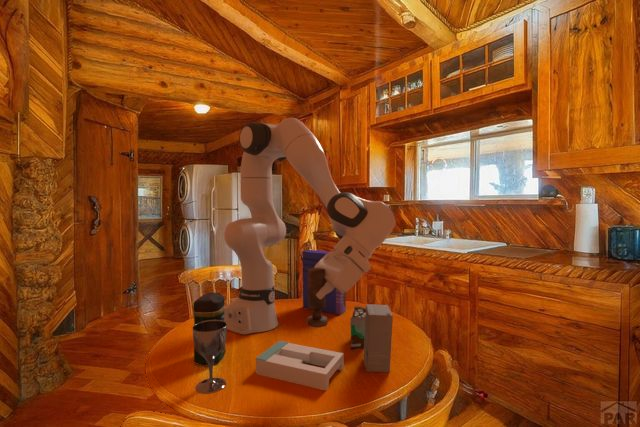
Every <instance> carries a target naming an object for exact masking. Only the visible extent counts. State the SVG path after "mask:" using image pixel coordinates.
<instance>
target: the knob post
mask: <svg viewBox="0 0 640 427" xmlns="http://www.w3.org/2000/svg"><path fill="white" fill-rule="evenodd" d="M324 276H325V269H322V268H312V269H308V307H309V308H310V309H312V310H311V314H312V315H308V316H307V318H306V325H307V326H309V327H310V328H323V327H325V326H327V325H328V317H327V316H326V315H323V312H322V309H324V308H325V296H324V297H323V298H322V299H319V298H318V297H317V296H316V295H315V293H316V292H317V290H318V289H321V288H322V287H323V286H324V285H325V278H324ZM310 309H309V310H310Z"/></svg>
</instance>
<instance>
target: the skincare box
mask: <svg viewBox="0 0 640 427" xmlns="http://www.w3.org/2000/svg"><path fill="white" fill-rule="evenodd" d="M365 308H366V318H365V337H364V348H363V354H362V355H363V356H362V357H363V363H364V368H365V371H366V372H367V373H368V372H369V373H371V372H372V373H373V372H374V373H390V372H391V358H392V356H391V355H392V354H391V353H392V341H393V340H392V338H393V337H392V336H393V322H394V321H393V320H394V316H393V314H392V310H391V308H390V306H389V305H387V304H372V303H368V304H367V303H366V304H365Z"/></svg>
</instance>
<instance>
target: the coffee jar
mask: <svg viewBox="0 0 640 427" xmlns="http://www.w3.org/2000/svg"><path fill="white" fill-rule="evenodd" d="M225 301H226V300H225V296H224V295H223V294H222V293H221V292H206V293H205V294H203V295H201V296H200V297H198V298H196V299H195V301H194V302H193V308H192V309H193V326H194V325H195V324H197V323H199V322H202V321H207V320H222V321H224V311H225V307H226V305H225V304H226V303H225ZM225 355H226V344H225V345H224V348H223V349H222V351H221V352H220V353H219V354H218V356H217V357H216V359H215V361H214V364H218V363H220V362H221V360H222V359H223V358H224V357H225ZM193 361H194V363H195V364H196V365H200V366H208V363H207V361H206V360H205V359H204V358H203V357H202V356H201V355H200V354H199V353H198V352H197V351H196V349H195V345H194V344H193ZM214 364H213V365H214Z"/></svg>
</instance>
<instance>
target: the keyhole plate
mask: <svg viewBox="0 0 640 427" xmlns="http://www.w3.org/2000/svg"><path fill="white" fill-rule="evenodd" d="M344 356H345V355H344V353H343V352H339V351H338V352H337V351H335V350H334V351H333V350H328V349H321V348H318V347H312V346H306V345H302V344H301V345H300V344H296V343H291V342H288V341H286V340H285V341H284V340H278V341H277V342H276V343H274V344H272V345H271V346H270V347H269V348H267V349H266V350H265V351H263V352H262V353H260V354H259V355H258V356H256V358H255V374H256V375H259V376H264V377H267V378H271V379H276V380H280V381H284V382H288V383H293V384H297V385H301V386H305V387H309V388H314V389H318V390H321V391H325V392H327V391H328V390H329V388H330V387H329V386H330V378H332V376H333V375H334V374H335V373H336V371H337V370H339V371H343V370H344V368H345V367H344V366H345V360H344V359H345V357H344ZM310 364H311V365H310Z"/></svg>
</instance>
